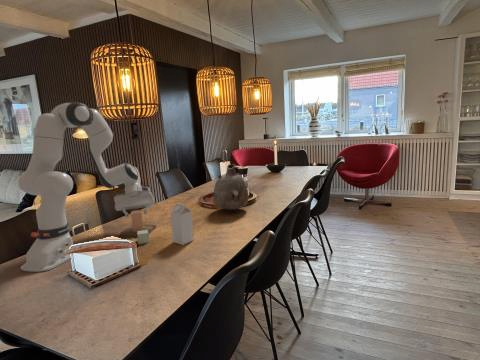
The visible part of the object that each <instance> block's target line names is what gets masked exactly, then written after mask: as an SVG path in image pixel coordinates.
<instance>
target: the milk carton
mask: <svg viewBox="0 0 480 360" xmlns="http://www.w3.org/2000/svg"><path fill="white" fill-rule="evenodd" d="M170 221H171V223H170V224H171V231H172V233H171V234H172V242H173V243H174V244H179V245H182V246H184V245H186V244H189V243H191V242H193V241H194V229H193V228H194V227H193V211H192V210H191V209H189V208H188V207H186V204H183V203H179V202H175V204H174V207H173V208H172V210H171V211H170Z"/></svg>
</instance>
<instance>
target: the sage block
mask: <svg viewBox="0 0 480 360" xmlns="http://www.w3.org/2000/svg"><path fill="white" fill-rule="evenodd" d="M137 235H138V237H137V241H138V245H143V244H147V243H150V237H149V235H150V234H148V230H142V231H137Z"/></svg>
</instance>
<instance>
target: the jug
mask: <svg viewBox="0 0 480 360" xmlns="http://www.w3.org/2000/svg"><path fill="white" fill-rule="evenodd" d="M213 200H214V201H213V202H214V204H215V205H214V206H215V207H217V208H220V209H225V210H228V211H230V212H231V211H232V212H234V211H235V210H237V209H240V208H243V207H244V206H246V205H247V204H248V202H249V190H248V186H247V183H246V181H245V179H244V178H243V177H242V176H241V175H239V174H237V172H236V165H235V163H231V164H227V167H226V173H224V174H218V176H217V179H216V182H215V183H214V189H213Z"/></svg>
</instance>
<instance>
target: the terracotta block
mask: <svg viewBox="0 0 480 360" xmlns="http://www.w3.org/2000/svg"><path fill="white" fill-rule="evenodd" d="M130 214H131V215H130V217H131V223H132V224H131V225H133V232H134V231H141V230H143V225H144V224H143V216H142V210H141V209H133V210H130Z"/></svg>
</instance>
